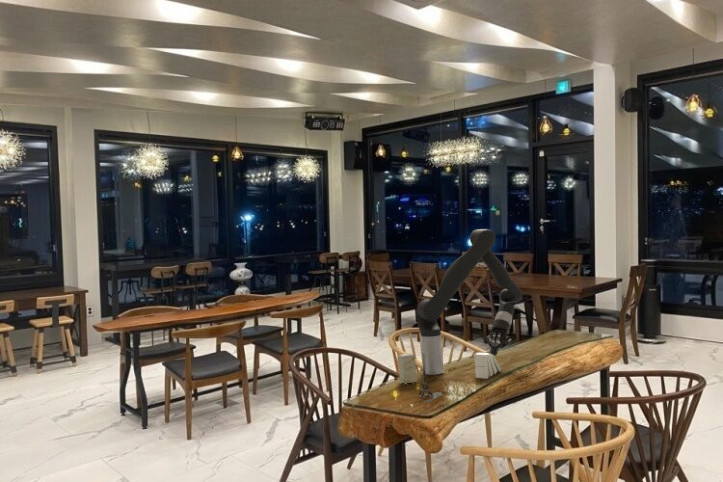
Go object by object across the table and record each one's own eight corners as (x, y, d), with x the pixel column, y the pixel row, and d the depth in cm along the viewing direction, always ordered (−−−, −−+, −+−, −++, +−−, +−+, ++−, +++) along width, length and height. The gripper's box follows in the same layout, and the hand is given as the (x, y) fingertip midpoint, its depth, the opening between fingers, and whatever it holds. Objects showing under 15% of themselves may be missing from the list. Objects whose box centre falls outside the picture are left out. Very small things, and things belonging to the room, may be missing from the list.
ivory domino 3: (495, 373, 246) (489, 356, 242) (485, 373, 249) (478, 355, 245) (497, 371, 247) (490, 353, 243) (486, 370, 250) (480, 352, 247)
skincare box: (404, 385, 238) (402, 356, 238) (399, 383, 242) (397, 354, 242) (417, 382, 241) (415, 354, 241) (411, 380, 245) (409, 352, 245)
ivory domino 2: (491, 376, 243) (486, 355, 240) (480, 375, 246) (476, 354, 244) (492, 374, 244) (488, 353, 242) (482, 373, 247) (477, 352, 245)
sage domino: (499, 371, 250) (492, 357, 244) (489, 370, 253) (481, 357, 247) (500, 368, 251) (493, 354, 245) (490, 367, 254) (482, 353, 249)
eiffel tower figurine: (428, 403, 210) (425, 368, 210) (405, 401, 216) (402, 366, 216) (447, 393, 222) (444, 359, 223) (425, 391, 228) (422, 358, 229)
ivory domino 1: (486, 378, 239) (484, 355, 239) (475, 377, 242) (474, 354, 242) (488, 377, 240) (486, 354, 241) (477, 376, 244) (476, 353, 244)
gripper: (486, 318, 262) (476, 349, 253) (513, 318, 254) (503, 351, 244) (492, 327, 267) (482, 358, 257) (518, 328, 258) (509, 360, 249)
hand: (492, 354), depth 251 cm, fingers closed
